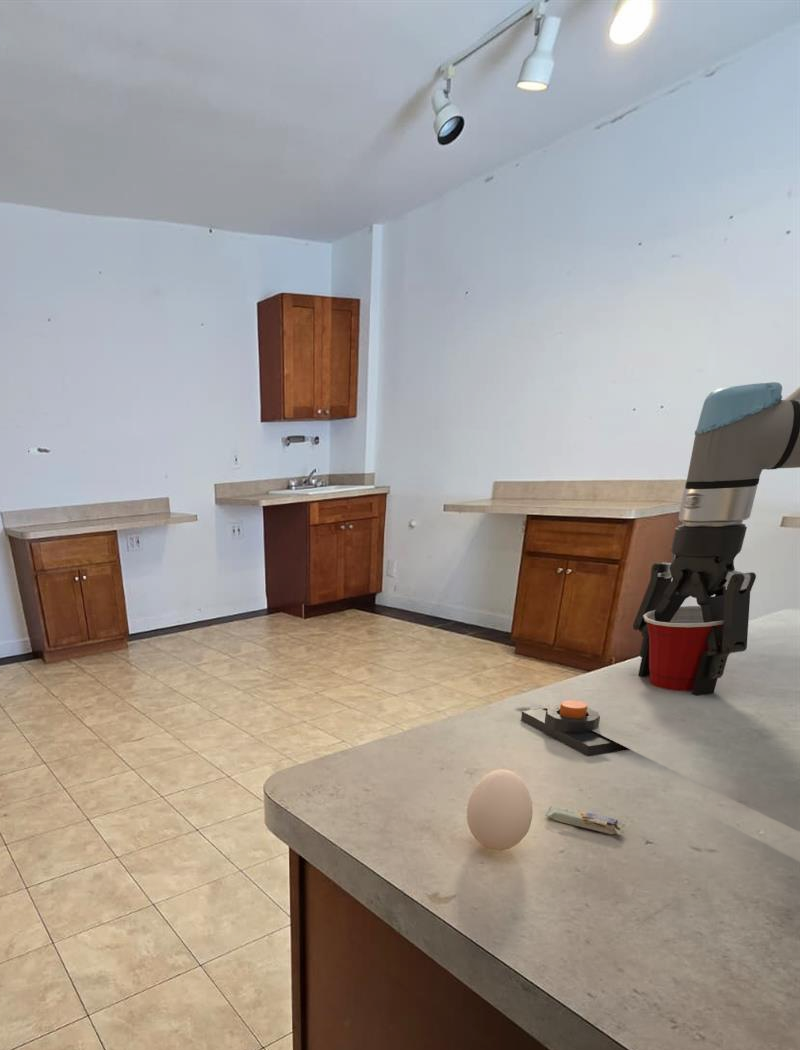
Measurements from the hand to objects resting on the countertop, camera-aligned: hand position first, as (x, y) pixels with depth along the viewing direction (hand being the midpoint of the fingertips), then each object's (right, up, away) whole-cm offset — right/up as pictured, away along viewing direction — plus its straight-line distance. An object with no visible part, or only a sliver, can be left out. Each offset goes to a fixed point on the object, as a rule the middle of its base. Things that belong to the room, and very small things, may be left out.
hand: (672, 689), depth 92 cm
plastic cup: (0, -1, 0) cm, 1 cm away
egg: (-40, -19, -32) cm, 54 cm away
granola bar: (-30, -17, -30) cm, 46 cm away
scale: (-14, -6, -9) cm, 18 cm away
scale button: (-21, -5, -11) cm, 24 cm away
